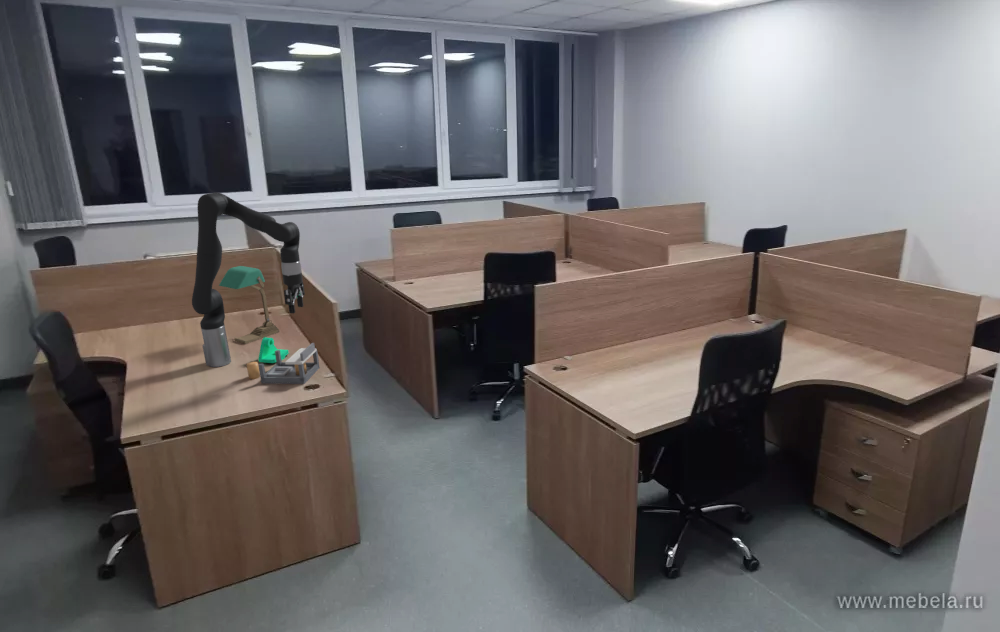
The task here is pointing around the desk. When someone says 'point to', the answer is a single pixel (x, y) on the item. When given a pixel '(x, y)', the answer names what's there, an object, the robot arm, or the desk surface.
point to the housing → (289, 371)
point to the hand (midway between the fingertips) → (296, 309)
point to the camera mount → (270, 351)
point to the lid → (302, 355)
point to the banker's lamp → (250, 277)
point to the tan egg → (253, 370)
